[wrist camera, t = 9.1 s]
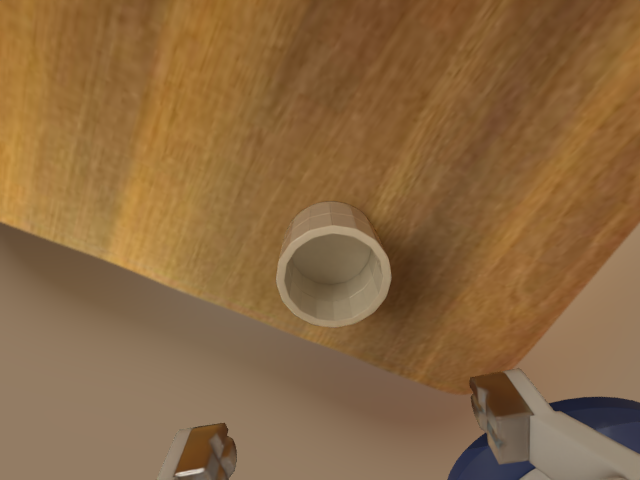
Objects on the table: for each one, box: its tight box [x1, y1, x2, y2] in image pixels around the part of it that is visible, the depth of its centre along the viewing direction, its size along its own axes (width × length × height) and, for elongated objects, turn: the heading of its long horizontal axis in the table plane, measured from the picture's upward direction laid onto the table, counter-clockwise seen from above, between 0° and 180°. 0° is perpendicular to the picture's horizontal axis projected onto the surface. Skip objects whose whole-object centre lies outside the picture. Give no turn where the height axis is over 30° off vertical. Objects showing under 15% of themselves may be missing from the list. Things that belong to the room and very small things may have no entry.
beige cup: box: [276, 202, 392, 328], centre depth 22 cm, size 7×7×5 cm
